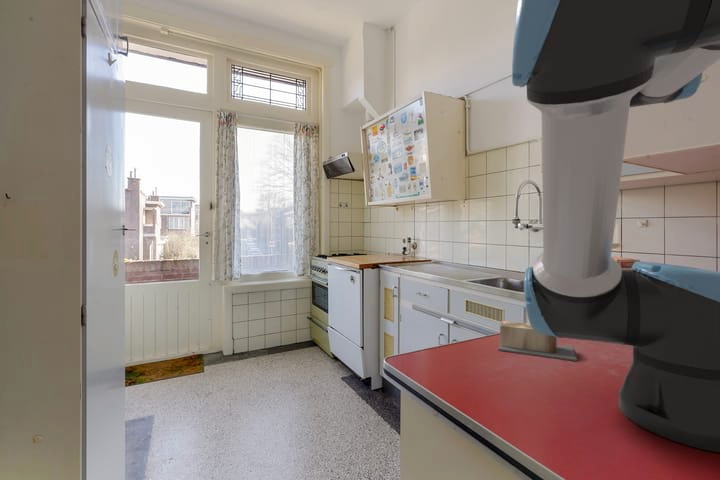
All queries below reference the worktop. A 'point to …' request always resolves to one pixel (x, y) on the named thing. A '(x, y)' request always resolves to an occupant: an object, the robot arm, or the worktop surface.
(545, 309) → the robot arm
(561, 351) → the mat
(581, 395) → the worktop surface
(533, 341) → the block
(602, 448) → the worktop surface
